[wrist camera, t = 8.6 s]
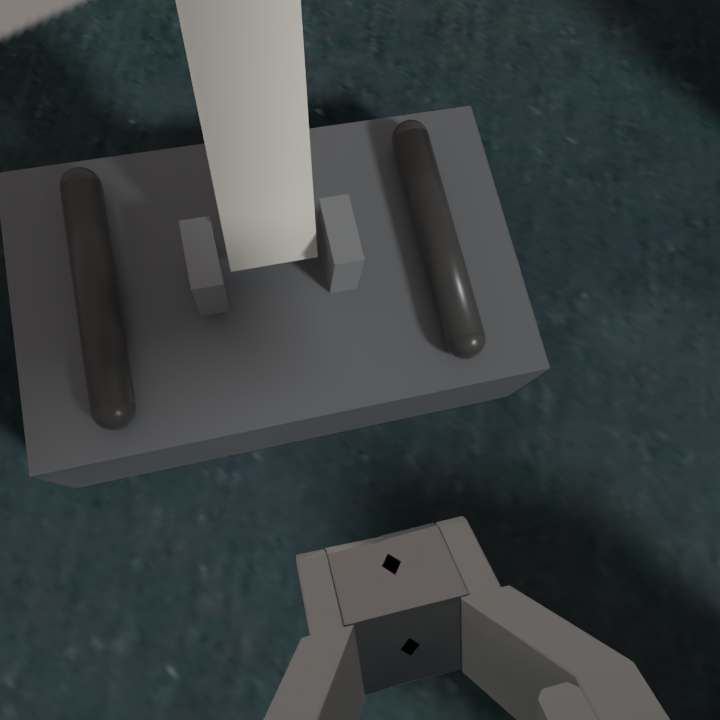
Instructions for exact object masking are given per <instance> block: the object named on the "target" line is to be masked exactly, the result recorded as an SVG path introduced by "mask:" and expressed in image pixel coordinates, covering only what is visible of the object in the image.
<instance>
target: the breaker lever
mask: <svg viewBox="0 0 720 720" xmlns="http://www.w3.org/2000/svg"><path fill="white" fill-rule="evenodd" d="M175 1H176V5H177V10H178V15H179V20H180V25H181V30H182V35H183V40H184V45H185V50H186V55H187V59H188V64H189V69H190V74H191V79H192V84H193V89H194V94H195V99H196V104H197V109H198V113H199V118H200V123H201V128H202V133H203V138H204V143H205V148H206V153H207V158H208V163H209V167H210V172H211V177H212V182H213V187H214V192H215V197H216V202H217V207H218V212H219V217H220V221H221V226H222V231H223V236H224V241H225V246H226V251H227V256H228V261H229V266H230V271H231V272H234V271H239V270H245V269H251V268H257V267H263V266H269V265H274V264H280V263H286V262H292V261H298V260H304V259H309V258H315V257H318V253H317V238H316V223H315V208H314V193H313V178H312V164H311V149H310V134H309V119H308V104H307V89H306V74H305V59H304V44H303V29H302V14H301V0H175Z"/></svg>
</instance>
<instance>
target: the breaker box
mask: <svg viewBox="0 0 720 720" xmlns="http://www.w3.org/2000/svg"><path fill="white" fill-rule="evenodd" d="M309 134H310V149H311V164H312V178H313V193H314V208H315V223H316V238H317V253H318V257H315V258H309V259H304V260H298V261H292V262H286V263H280V264H274V265H269V266H263V267H257V268H251V269H245V270H239V271H234V272H231V271H230V266H229V261H228V256H227V251H226V246H225V241H224V236H223V231H222V226H221V221H220V217H219V212H218V207H217V202H216V197H215V192H214V187H213V182H212V177H211V172H210V167H209V163H208V158H207V153H206V148H205V143H204V144H197V145H190V146H183V147H176V148H169V149H162V150H155V151H148V152H141V153H134V154H127V155H120V156H112V157H105V158H98V159H91V160H84V161H77V162H70V163H63V164H56V165H49V166H42V167H35V168H28V169H21V170H14V171H7V172H0V220H1V229H2V238H3V247H4V256H5V265H6V273H7V282H8V291H9V300H10V309H11V318H12V326H13V335H14V344H15V353H16V362H17V371H18V379H19V388H20V397H21V406H22V415H23V423H24V432H25V441H26V450H27V459H28V468H29V476H30V477H33V478H37V479H41V480H45V481H49V482H53V483H57V484H61V485H65V486H69V487H73V488H81V487H85V486H90V485H95V484H99V483H104V482H109V481H113V480H118V479H123V478H128V477H132V476H137V475H142V474H146V473H151V472H156V471H160V470H165V469H170V468H174V467H179V466H184V465H189V464H193V463H198V462H203V461H207V460H212V459H217V458H221V457H226V456H231V455H235V454H240V453H245V452H250V451H254V450H259V449H264V448H268V447H273V446H278V445H282V444H287V443H292V442H296V441H301V440H306V439H311V438H315V437H320V436H325V435H329V434H334V433H339V432H343V431H348V430H353V429H357V428H362V427H367V426H372V425H376V424H381V423H386V422H390V421H395V420H400V419H404V418H409V417H414V416H418V415H423V414H428V413H433V412H437V411H442V410H447V409H451V408H456V407H461V406H465V405H470V404H475V403H479V402H484V401H489V400H494V399H498V398H503V397H507V396H509V395H510V394H512V393H513V392H515V391H516V390H518V389H519V388H521V387H522V386H524V385H525V384H527V383H528V382H530V381H531V380H533V379H534V378H536V377H538V376H539V375H541V374H542V373H544V372H545V371H547V370H548V369H550V367H549V363H548V360H547V357H546V353H545V350H544V347H543V343H542V340H541V337H540V334H539V330H538V327H537V324H536V320H535V317H534V314H533V310H532V307H531V304H530V300H529V297H528V294H527V291H526V287H525V284H524V281H523V277H522V274H521V271H520V267H519V264H518V261H517V257H516V254H515V251H514V248H513V244H512V241H511V238H510V234H509V231H508V228H507V224H506V221H505V218H504V214H503V211H502V208H501V205H500V201H499V198H498V195H497V191H496V188H495V185H494V181H493V178H492V175H491V171H490V168H489V165H488V162H487V158H486V155H485V152H484V148H483V145H482V142H481V138H480V135H479V132H478V128H477V125H476V122H475V119H474V115H473V112H472V109H471V106H465V107H458V108H451V109H444V110H437V111H430V112H423V113H416V114H409V115H402V116H395V117H388V118H381V119H374V120H367V121H359V122H352V123H345V124H338V125H331V126H324V127H317V128H310V129H309Z"/></svg>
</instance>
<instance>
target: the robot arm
mask: <svg viewBox="0 0 720 720" xmlns="http://www.w3.org/2000/svg"><path fill="white" fill-rule="evenodd" d="M325 550H326V551H325ZM296 563H297V569H298V574H299V579H300V585H301V590H302V595H303V601H304V606H305V611H306V617H307V622H308V628H309V633H310V636H306V637H303V638H301V640H300V642H299V644H298V646H297V649H296V651H295V653H294V655H293V657H292V659H291V662H290V664H289V666H288V668H287V670H286V672H285V675H284V677H283V679H282V681H281V683H280V685H279V688H278V690H277V692H276V694H275V696H274V698H273V700H272V703H271V705H270V707H269V709H268V711H267V713H266V716H265V718H264V720H359V718H360V715H361V711H362V708H363V704H364V701H365V695H367V694H371V693H374V692H377V691H381V690H384V689H387V688H391V687H394V686H397V685H401V684H404V683H408V682H411V681H415V680H419V679H423V678H427V677H431V676H436V675H440V674H444V673H448V672H452V671H457V670H461V669H462V672H463V673H464V674H465V675H466V676H468V677H469V678H470V679H471V680H472V681H473V682H474V683H476V684H477V685H478V686H479V687H480V688H481V689H482V690H483V691H485V692H486V693H487V694H488V695H489V696H490V697H491V698H492V699H494V700H495V701H496V702H497V703H498V704H499V705H500V706H501V707H503V708H504V709H505V710H506V711H507V712H508V713H509V714H511V715H512V716H513V717H514V718H515V719H516V720H670V719H669V717H668V716H667V714H666V713H665V711H664V709H663V708H662V706H661V705H660V703H659V702H658V700H657V698H656V697H655V695H654V694H653V692H652V691H651V689H650V687H649V686H648V684H647V683H646V681H645V680H644V678H643V676H642V675H641V673H640V672H639V670H638V669H637V667H636V665H635V664H634V662H633V661H631V660H629V659H628V658H626V657H625V656H623V655H621V654H620V653H618V652H617V651H615V650H613V649H612V648H610V647H608V646H607V645H605V644H604V643H602V642H600V641H599V640H597V639H595V638H594V637H592V636H591V635H589V634H587V633H586V632H584V631H583V630H581V629H579V628H578V627H576V626H574V625H573V624H571V623H570V622H568V621H566V620H565V619H563V618H561V617H560V616H558V615H557V614H555V613H553V612H552V611H550V610H549V609H547V608H545V607H544V606H542V605H540V604H539V603H537V602H536V601H534V600H532V599H531V598H529V597H527V596H526V595H524V594H523V593H521V592H519V591H518V590H516V589H515V588H513V587H511V586H510V585H509V586H504V587H501V586H500V584H499V582H498V580H497V578H496V576H495V574H494V572H493V570H492V568H491V566H490V564H489V562H488V560H487V558H486V556H485V554H484V552H483V550H482V548H481V547H480V545H479V543H478V541H477V539H476V537H475V535H474V533H473V531H472V529H471V527H470V525H469V523H468V521H467V519H465V518H464V517H463V516H460V517H456V518H452V519H448V520H444V521H440V522H436V523H435V524H434V523H430V524H426V525H422V526H418V527H414V528H410V529H406V530H402V531H398V532H394V533H390V534H386V535H382V536H380V537H376V538H371V539H367V540H362V541H357V542H352V543H348V544H343V545H338V546H333V547H328V548H325V549H321V550H317V551H312V552H307V553H302V554H298V555H296Z"/></svg>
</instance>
